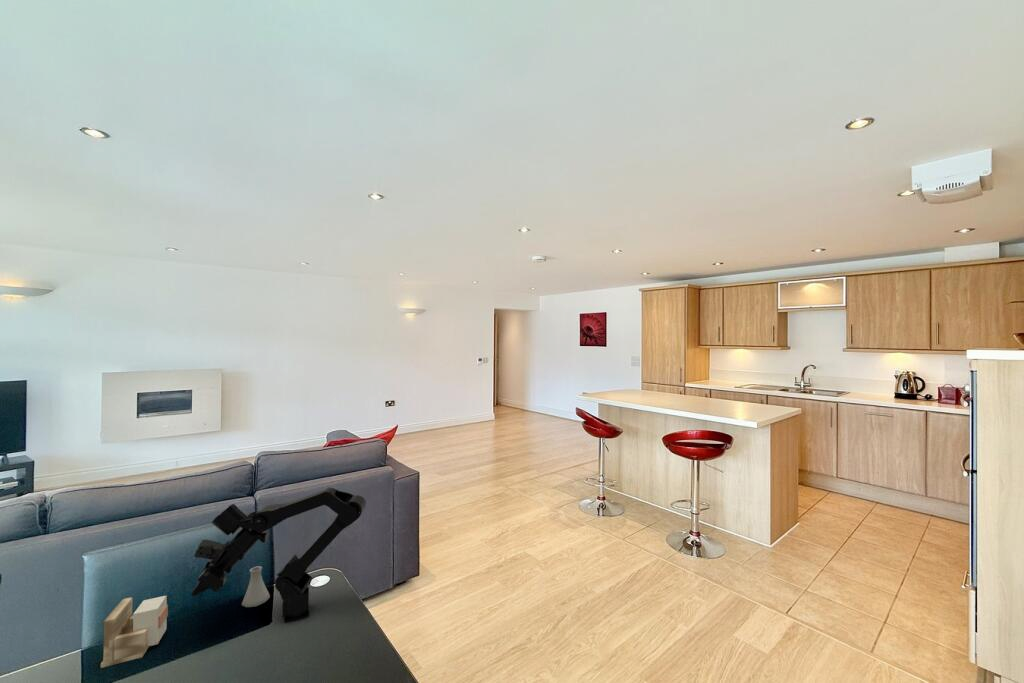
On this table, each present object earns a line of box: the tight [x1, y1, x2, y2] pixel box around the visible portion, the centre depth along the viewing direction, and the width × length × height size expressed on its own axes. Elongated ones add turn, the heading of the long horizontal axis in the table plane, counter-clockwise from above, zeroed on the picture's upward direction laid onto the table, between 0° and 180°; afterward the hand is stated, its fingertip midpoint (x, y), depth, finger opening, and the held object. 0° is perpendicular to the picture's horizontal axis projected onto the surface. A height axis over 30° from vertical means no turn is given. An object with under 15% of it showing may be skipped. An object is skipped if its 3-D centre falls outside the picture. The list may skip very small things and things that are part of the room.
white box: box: [132, 594, 169, 648], centre depth 111 cm, size 5×7×9 cm
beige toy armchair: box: [100, 596, 150, 669], centre depth 109 cm, size 8×11×11 cm
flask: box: [241, 565, 271, 608], centre depth 129 cm, size 7×7×10 cm
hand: (192, 594), depth 115 cm, fingers closed
